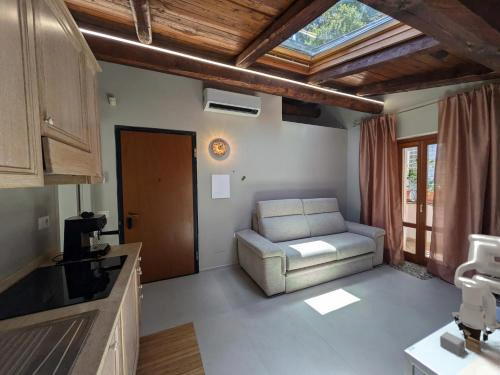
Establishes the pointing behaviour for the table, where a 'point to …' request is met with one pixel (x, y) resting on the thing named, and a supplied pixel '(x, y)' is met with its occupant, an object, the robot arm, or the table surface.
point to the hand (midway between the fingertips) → (472, 334)
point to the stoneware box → (452, 343)
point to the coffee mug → (470, 331)
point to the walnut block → (473, 345)
